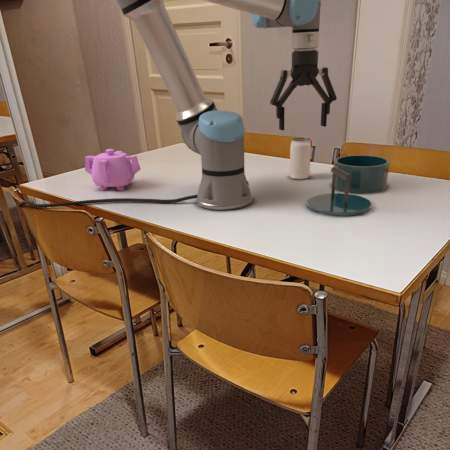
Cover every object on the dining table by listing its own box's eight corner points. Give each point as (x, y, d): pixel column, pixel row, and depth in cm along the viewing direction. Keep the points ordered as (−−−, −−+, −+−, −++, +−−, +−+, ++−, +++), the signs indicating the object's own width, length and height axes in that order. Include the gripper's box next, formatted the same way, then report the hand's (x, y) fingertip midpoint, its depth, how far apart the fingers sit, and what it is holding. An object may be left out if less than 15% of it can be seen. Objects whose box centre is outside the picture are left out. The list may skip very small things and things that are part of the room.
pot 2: (346, 195, 132) (348, 169, 128) (324, 182, 145) (326, 157, 142) (396, 190, 135) (400, 164, 131) (370, 177, 148) (373, 153, 144)
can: (303, 180, 148) (305, 141, 142) (285, 178, 151) (286, 139, 145) (313, 176, 152) (315, 138, 146) (295, 173, 156) (297, 136, 150)
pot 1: (150, 179, 156) (145, 143, 151) (133, 194, 141) (128, 155, 136) (99, 179, 159) (93, 144, 153) (77, 194, 144) (70, 155, 138)
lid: (321, 219, 115) (323, 181, 111) (297, 200, 130) (299, 166, 125) (382, 212, 118) (387, 175, 114) (353, 195, 132) (356, 161, 128)
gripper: (267, 52, 128) (267, 133, 139) (351, 47, 132) (345, 126, 143) (259, 52, 135) (260, 129, 145) (340, 47, 139) (335, 122, 149)
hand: (302, 127), depth 144 cm, fingers open, 13 cm apart
